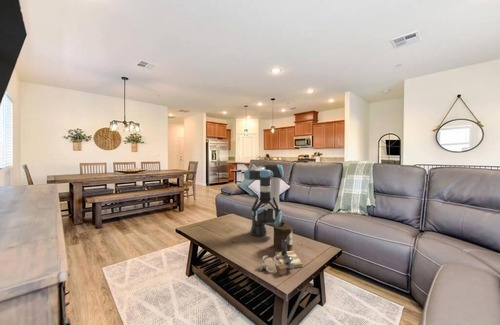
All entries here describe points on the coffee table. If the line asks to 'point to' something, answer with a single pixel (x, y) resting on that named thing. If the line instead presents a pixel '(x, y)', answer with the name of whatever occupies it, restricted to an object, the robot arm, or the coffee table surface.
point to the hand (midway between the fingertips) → (265, 219)
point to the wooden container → (282, 235)
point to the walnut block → (281, 269)
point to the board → (291, 253)
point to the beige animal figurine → (269, 263)
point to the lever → (284, 252)
